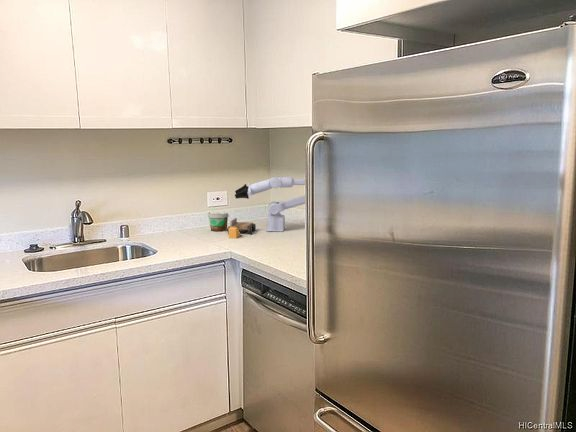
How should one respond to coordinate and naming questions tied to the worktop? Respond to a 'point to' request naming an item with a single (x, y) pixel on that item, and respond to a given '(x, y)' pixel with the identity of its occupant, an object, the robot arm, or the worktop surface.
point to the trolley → (242, 226)
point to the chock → (233, 232)
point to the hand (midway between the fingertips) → (235, 194)
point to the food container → (218, 222)
